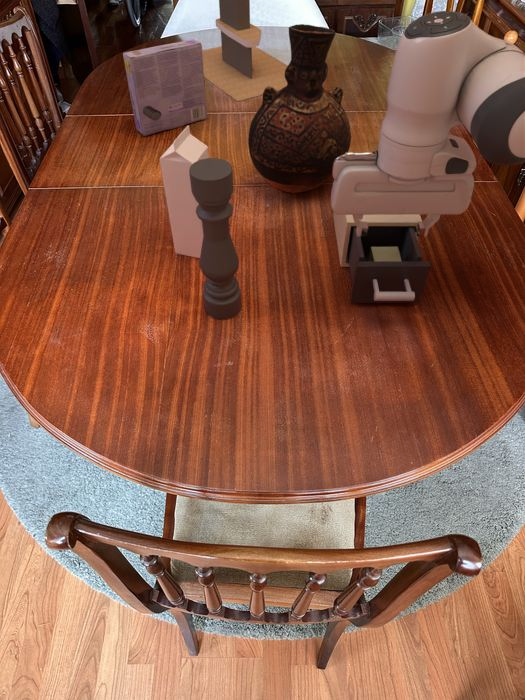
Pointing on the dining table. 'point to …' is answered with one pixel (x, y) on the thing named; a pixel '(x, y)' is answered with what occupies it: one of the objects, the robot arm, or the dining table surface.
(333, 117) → the ceramic vessel
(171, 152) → the milk
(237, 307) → the candle holder
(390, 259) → the block
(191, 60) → the cake pan box
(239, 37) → the architectural model
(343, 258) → the drawer cabinet
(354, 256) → the dark grey drawer
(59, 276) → the dining table surface
